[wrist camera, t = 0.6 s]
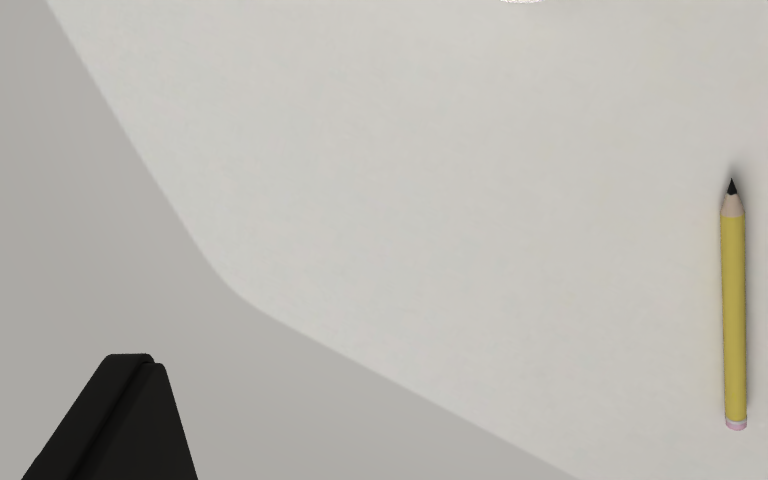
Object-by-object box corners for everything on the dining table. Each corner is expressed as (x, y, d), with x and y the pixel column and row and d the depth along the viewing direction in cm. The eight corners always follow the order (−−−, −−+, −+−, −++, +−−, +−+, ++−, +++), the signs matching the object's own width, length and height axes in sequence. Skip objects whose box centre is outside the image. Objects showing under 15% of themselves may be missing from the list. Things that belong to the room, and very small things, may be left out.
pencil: (740, 171, 29) (749, 180, 29) (742, 416, 36) (750, 429, 35) (715, 175, 30) (723, 184, 29) (722, 418, 36) (729, 432, 35)
